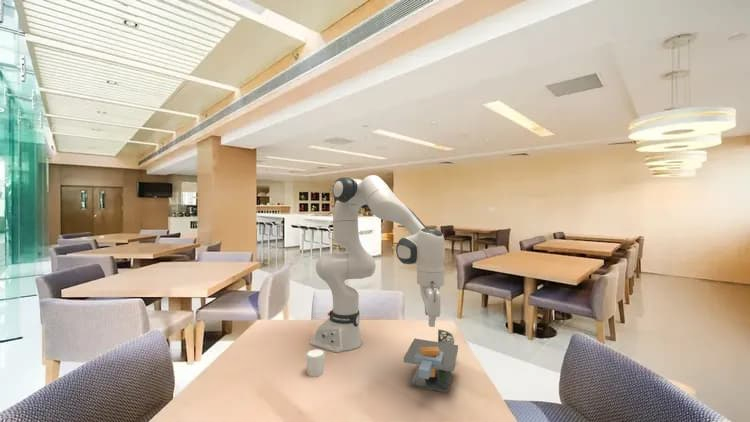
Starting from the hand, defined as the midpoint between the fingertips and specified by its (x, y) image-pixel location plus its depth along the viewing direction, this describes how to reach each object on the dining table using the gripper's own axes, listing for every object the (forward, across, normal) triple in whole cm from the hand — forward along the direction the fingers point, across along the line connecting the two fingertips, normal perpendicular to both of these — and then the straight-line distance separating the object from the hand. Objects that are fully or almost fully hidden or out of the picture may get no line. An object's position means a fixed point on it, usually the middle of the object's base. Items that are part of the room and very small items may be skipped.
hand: (429, 320), depth 101 cm
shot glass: (+23, +7, +39) cm, 46 cm away
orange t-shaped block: (+18, 0, 0) cm, 18 cm away
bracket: (+14, -4, +1) cm, 14 cm away
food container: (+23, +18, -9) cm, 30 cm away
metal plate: (+22, +4, -2) cm, 23 cm away
